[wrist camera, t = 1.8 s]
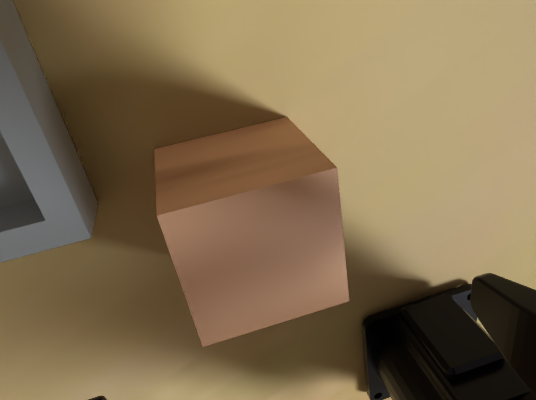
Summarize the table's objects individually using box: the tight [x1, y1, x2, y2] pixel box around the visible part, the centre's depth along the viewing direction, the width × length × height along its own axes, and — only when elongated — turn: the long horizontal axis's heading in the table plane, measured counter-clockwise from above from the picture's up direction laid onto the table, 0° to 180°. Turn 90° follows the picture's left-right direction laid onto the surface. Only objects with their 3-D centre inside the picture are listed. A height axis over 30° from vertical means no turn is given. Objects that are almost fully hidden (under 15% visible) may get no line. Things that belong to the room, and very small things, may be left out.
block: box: [154, 117, 349, 347], centre depth 15 cm, size 5×5×5 cm
